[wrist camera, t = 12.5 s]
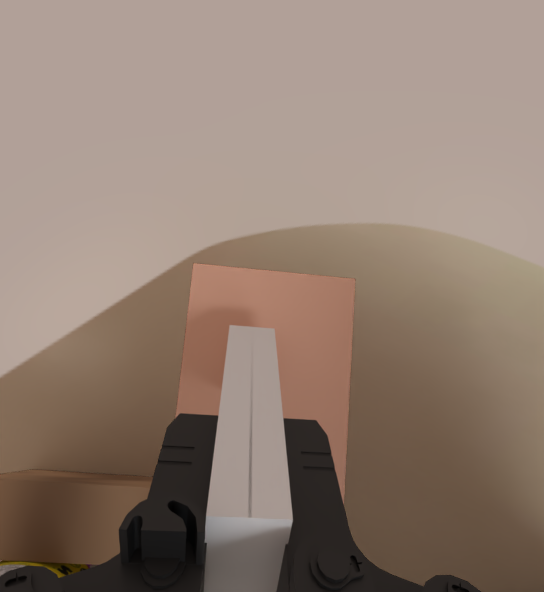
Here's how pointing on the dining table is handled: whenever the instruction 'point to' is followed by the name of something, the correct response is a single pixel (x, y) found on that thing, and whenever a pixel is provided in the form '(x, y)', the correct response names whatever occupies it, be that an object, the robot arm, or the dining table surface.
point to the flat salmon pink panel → (289, 342)
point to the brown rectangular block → (65, 515)
